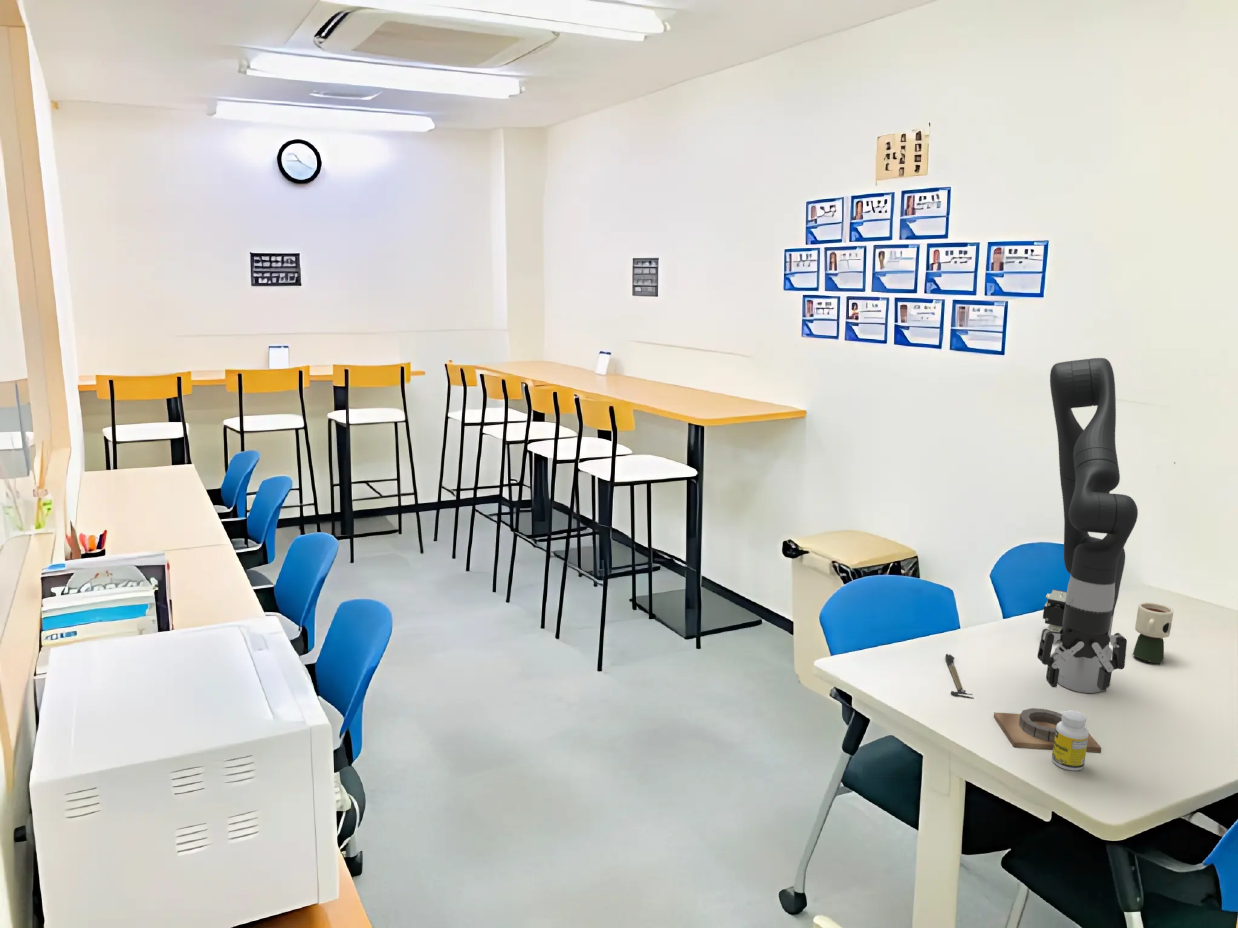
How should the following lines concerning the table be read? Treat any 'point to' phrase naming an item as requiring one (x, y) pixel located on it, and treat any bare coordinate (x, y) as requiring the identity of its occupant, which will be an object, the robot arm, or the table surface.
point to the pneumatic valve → (1055, 610)
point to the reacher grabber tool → (955, 678)
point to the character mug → (1152, 631)
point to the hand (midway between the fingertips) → (1076, 687)
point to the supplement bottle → (1070, 741)
